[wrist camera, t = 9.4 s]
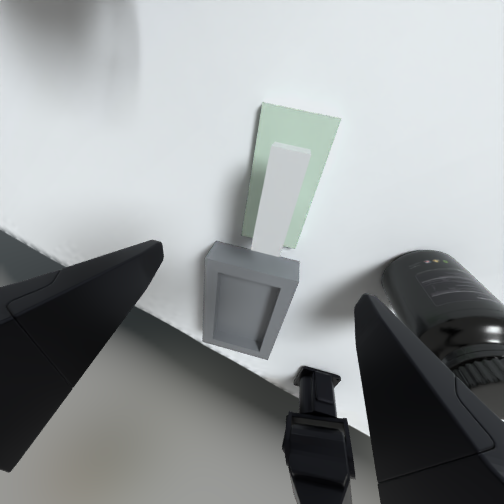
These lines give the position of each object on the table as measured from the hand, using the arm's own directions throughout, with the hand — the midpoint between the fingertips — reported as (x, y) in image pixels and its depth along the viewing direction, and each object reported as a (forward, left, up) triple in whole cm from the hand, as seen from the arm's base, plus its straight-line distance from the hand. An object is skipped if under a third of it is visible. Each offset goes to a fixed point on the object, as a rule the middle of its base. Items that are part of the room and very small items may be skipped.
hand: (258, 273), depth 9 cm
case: (-16, +1, -13) cm, 21 cm away
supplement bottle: (-6, -16, -13) cm, 22 cm away
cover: (0, 0, -13) cm, 13 cm away
